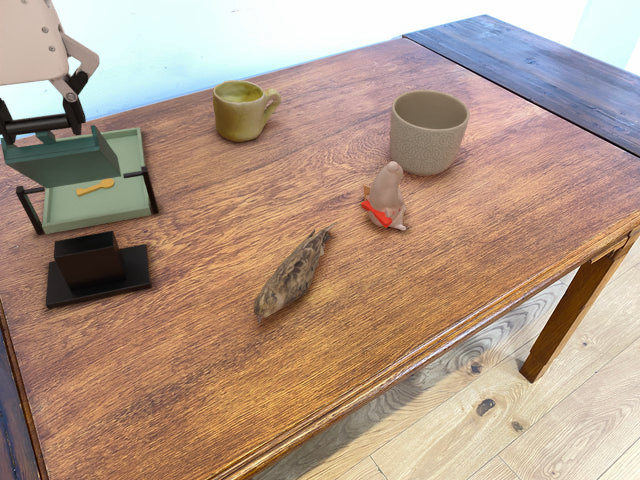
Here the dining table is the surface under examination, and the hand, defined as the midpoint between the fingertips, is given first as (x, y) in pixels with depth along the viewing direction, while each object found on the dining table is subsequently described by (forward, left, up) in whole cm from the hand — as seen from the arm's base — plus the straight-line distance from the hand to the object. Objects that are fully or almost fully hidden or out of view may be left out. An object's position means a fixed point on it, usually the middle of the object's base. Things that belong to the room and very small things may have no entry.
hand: (45, 132), depth 56 cm
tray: (-9, +17, -21) cm, 29 cm away
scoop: (-1, +2, -7) cm, 7 cm away
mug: (+11, +37, -22) cm, 44 cm away
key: (-8, +14, -21) cm, 26 cm away
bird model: (+28, +3, -22) cm, 36 cm away
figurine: (+38, +18, -22) cm, 47 cm away
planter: (+43, +33, -22) cm, 58 cm away
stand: (-1, +1, -21) cm, 22 cm away
